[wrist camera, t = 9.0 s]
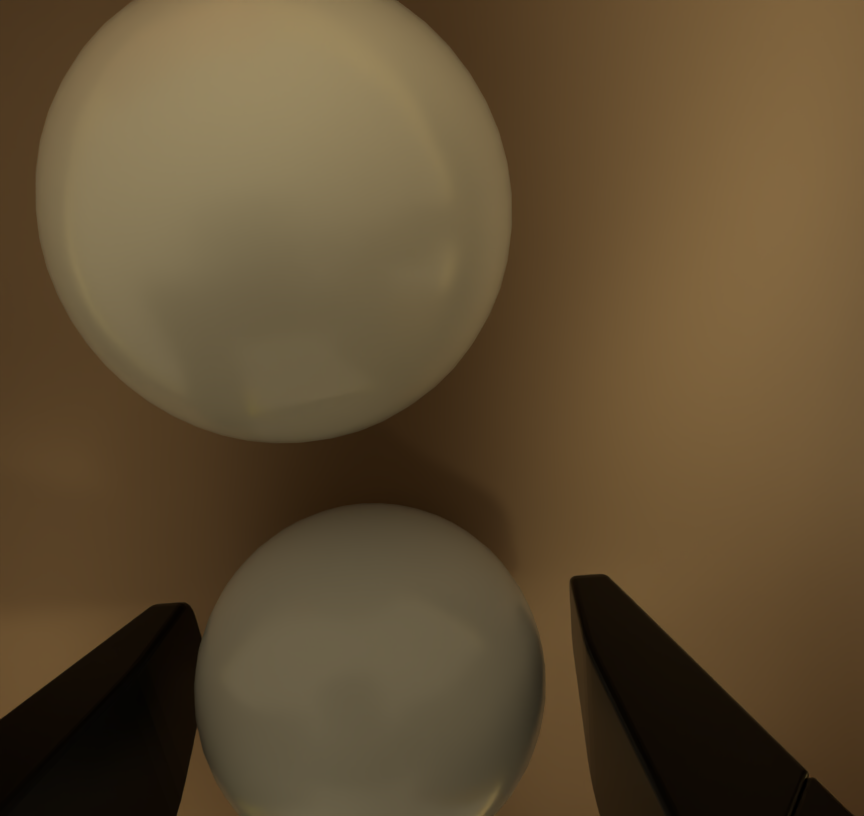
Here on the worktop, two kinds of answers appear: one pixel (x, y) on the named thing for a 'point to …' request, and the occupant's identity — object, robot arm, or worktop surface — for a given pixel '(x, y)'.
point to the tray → (525, 376)
